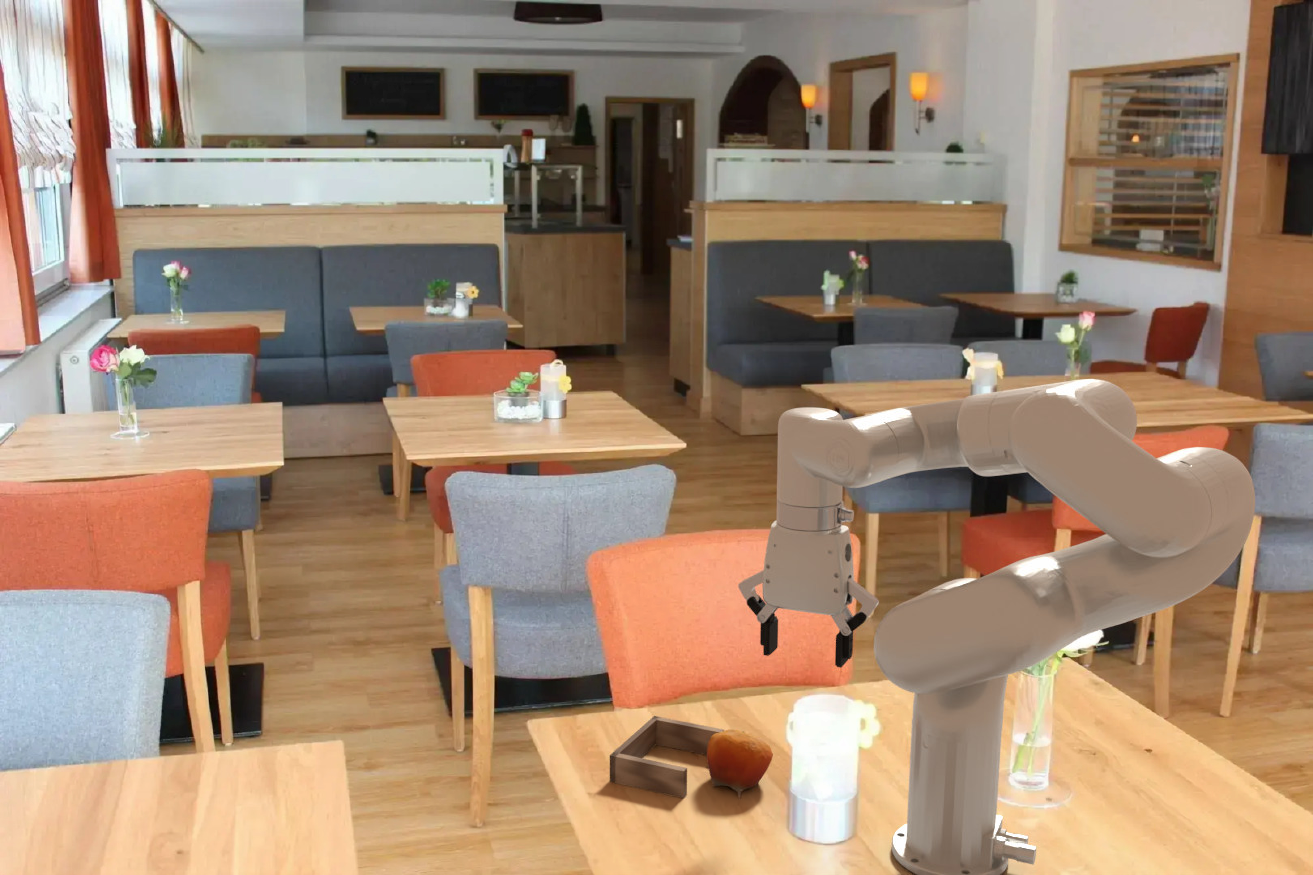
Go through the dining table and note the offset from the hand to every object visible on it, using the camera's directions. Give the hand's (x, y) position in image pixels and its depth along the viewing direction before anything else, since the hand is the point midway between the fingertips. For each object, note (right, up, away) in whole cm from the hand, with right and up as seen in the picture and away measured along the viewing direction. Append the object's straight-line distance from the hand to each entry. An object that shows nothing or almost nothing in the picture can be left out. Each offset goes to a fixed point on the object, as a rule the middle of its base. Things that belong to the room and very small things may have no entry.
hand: (805, 657), depth 152 cm
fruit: (-8, -17, +7) cm, 20 cm away
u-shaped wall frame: (-16, -16, +11) cm, 25 cm away
